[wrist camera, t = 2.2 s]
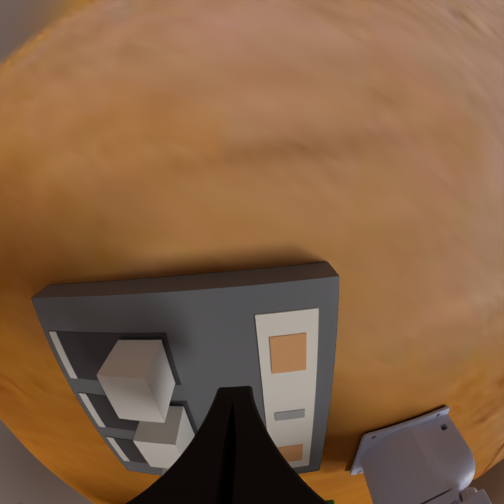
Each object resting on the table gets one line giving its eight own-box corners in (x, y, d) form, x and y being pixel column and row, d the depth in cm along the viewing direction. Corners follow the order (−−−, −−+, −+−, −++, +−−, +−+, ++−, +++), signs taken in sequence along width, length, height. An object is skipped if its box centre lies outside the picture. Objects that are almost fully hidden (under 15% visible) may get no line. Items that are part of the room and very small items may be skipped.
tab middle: (183, 406, 15) (175, 444, 12) (194, 434, 16) (189, 470, 13) (145, 404, 15) (132, 440, 12) (159, 432, 16) (150, 466, 13)
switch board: (327, 261, 15) (340, 277, 13) (315, 453, 20) (319, 471, 18) (48, 285, 15) (30, 299, 13) (132, 454, 20) (127, 471, 18)
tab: (161, 339, 13) (144, 378, 10) (175, 383, 14) (164, 422, 11) (118, 339, 13) (96, 375, 10) (134, 381, 14) (119, 418, 11)
